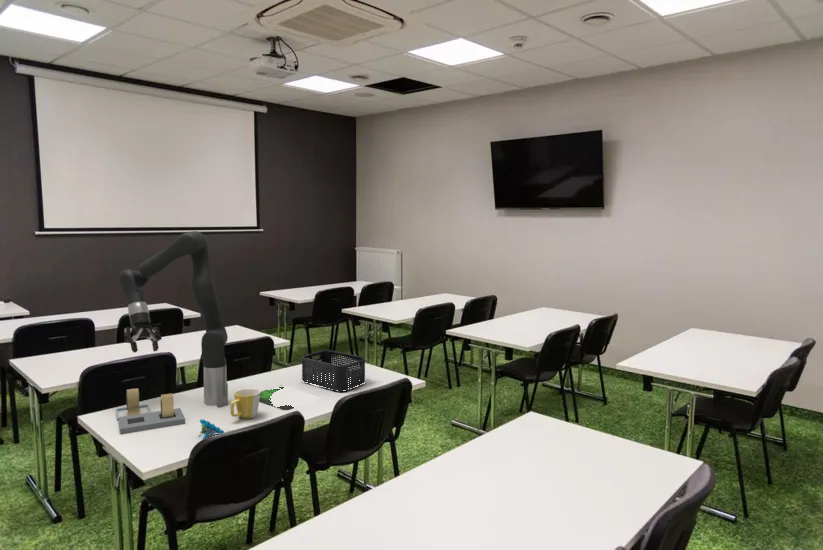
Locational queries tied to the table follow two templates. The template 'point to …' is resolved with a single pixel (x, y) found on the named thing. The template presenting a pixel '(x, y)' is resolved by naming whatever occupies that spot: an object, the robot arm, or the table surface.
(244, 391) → the mug
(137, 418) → the grey slotted fixture block
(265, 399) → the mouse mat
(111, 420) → the table surface
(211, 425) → the blue and green toy
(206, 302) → the robot arm
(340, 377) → the storage bin
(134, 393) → the brass billet
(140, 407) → the light blue tray
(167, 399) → the seated billet
